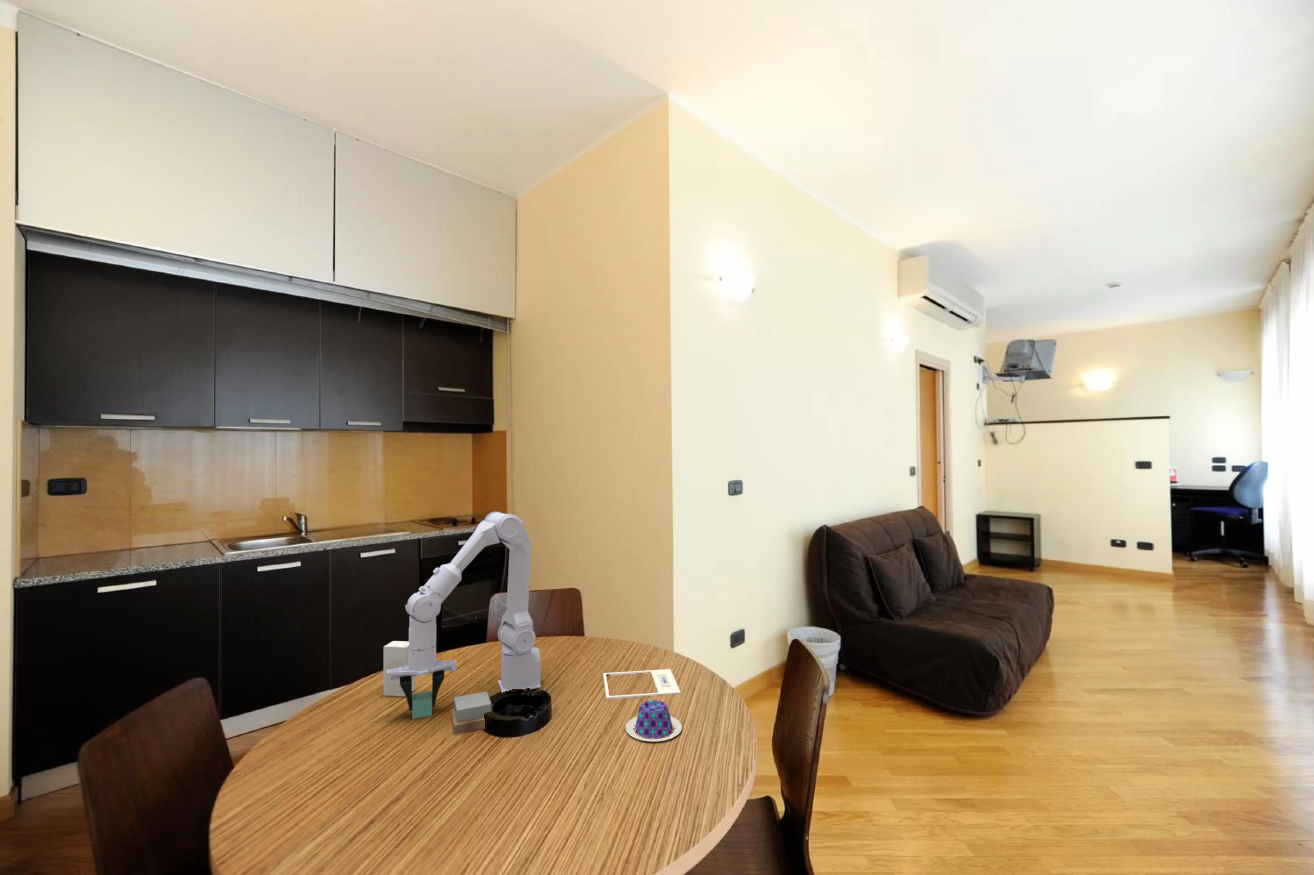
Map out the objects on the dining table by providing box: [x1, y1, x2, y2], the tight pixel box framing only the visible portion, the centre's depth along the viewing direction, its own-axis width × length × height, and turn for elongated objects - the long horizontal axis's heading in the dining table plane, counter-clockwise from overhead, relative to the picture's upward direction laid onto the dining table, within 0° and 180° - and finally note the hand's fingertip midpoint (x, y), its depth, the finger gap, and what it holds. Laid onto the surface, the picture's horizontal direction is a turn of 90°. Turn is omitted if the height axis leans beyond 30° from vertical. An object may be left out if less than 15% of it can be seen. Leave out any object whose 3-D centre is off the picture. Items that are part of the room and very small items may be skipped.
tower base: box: [451, 708, 485, 735], centre depth 120 cm, size 8×8×2 cm
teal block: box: [411, 690, 433, 720], centre depth 124 cm, size 4×4×4 cm
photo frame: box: [602, 668, 681, 701], centre depth 139 cm, size 15×1×18 cm
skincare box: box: [382, 640, 416, 697], centre depth 135 cm, size 6×4×12 cm
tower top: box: [453, 691, 492, 722], centre depth 121 cm, size 7×7×2 cm
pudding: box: [625, 699, 683, 742], centre depth 117 cm, size 12×12×5 cm
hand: (422, 706), depth 124 cm, fingers closed on teal block, 4 cm apart
